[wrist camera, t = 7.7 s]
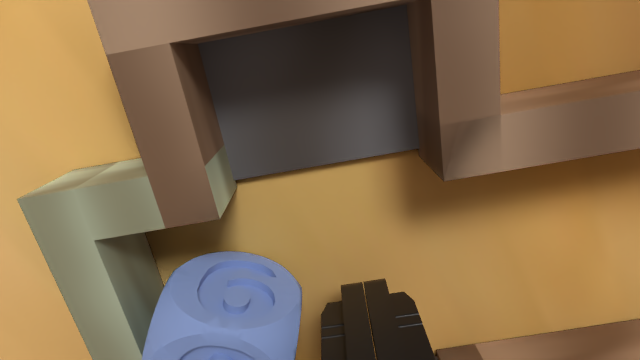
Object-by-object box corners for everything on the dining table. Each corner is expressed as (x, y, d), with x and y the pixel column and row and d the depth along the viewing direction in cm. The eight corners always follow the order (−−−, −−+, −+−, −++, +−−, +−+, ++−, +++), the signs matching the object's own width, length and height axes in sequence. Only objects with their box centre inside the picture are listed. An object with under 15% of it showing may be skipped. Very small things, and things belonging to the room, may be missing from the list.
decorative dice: (180, 334, 14) (134, 435, 11) (190, 241, 13) (141, 319, 9) (284, 349, 15) (275, 452, 11) (303, 260, 14) (301, 342, 10)
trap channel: (739, -120, 10) (870, -171, 8) (653, 426, 17) (709, 489, 14) (12, 20, 11) (-72, 12, 8) (204, 490, 17) (187, 560, 15)
